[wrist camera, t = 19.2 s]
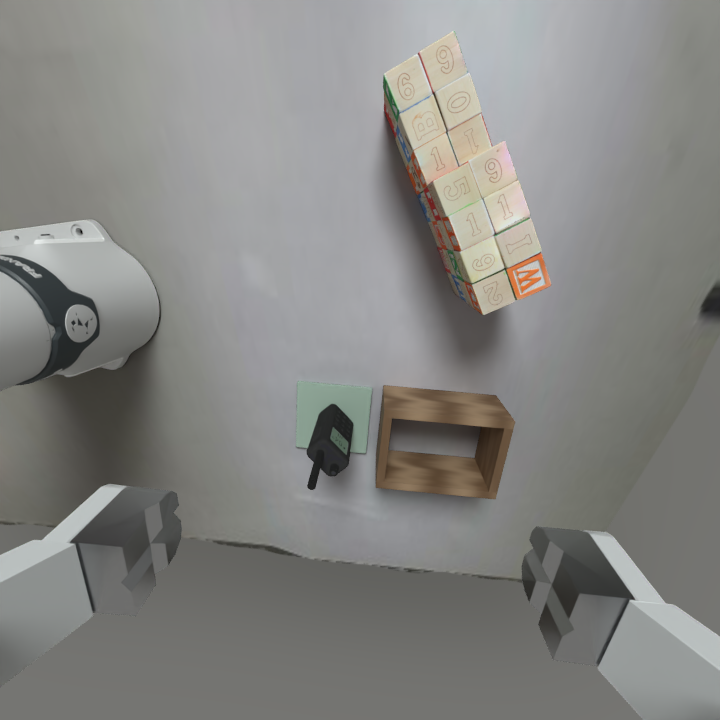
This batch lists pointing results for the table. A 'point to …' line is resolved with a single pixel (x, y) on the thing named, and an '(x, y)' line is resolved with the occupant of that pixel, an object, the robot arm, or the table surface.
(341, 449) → the walkie-talkie
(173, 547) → the robot arm
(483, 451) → the access box
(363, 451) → the place mat
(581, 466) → the table surface
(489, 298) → the stack of blocks
